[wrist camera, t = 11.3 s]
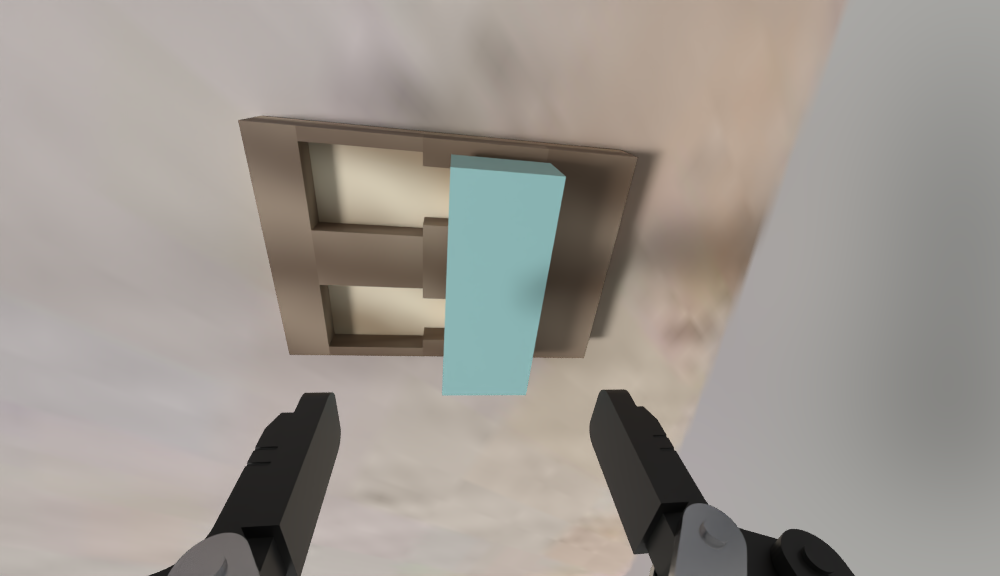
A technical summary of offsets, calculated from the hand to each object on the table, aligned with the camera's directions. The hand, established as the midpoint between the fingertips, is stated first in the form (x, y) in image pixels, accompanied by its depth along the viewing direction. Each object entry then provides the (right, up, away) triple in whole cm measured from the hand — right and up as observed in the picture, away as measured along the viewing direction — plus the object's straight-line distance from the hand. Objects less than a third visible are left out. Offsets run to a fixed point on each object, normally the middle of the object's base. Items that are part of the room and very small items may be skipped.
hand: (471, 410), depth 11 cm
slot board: (-2, +6, +13) cm, 15 cm away
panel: (0, +6, +12) cm, 14 cm away
